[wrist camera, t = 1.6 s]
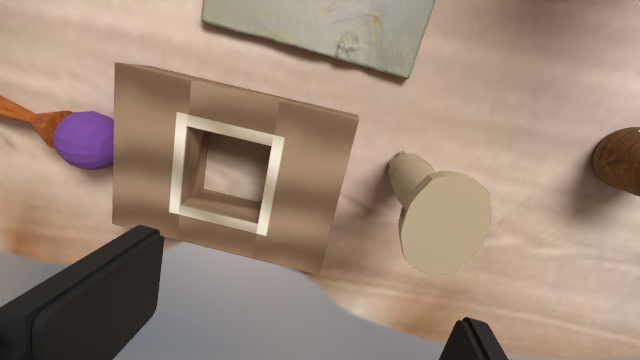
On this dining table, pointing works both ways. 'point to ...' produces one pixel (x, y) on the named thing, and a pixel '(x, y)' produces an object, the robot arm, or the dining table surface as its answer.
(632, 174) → the utensil holder
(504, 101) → the dining table surface
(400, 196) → the handle
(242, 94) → the brown flat block
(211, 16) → the decorative slab
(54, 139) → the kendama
